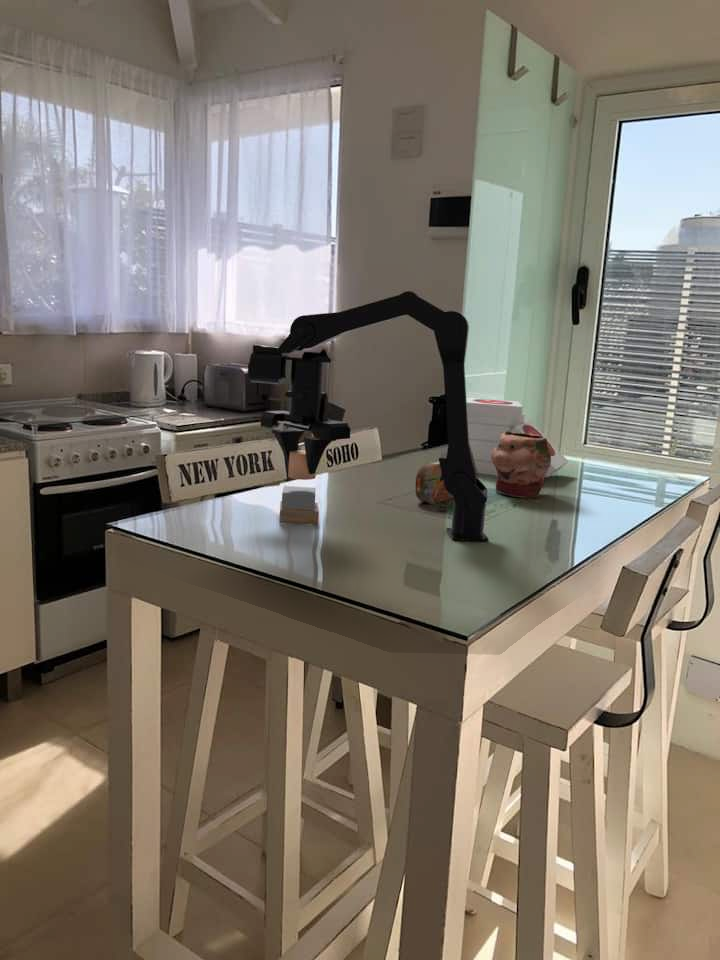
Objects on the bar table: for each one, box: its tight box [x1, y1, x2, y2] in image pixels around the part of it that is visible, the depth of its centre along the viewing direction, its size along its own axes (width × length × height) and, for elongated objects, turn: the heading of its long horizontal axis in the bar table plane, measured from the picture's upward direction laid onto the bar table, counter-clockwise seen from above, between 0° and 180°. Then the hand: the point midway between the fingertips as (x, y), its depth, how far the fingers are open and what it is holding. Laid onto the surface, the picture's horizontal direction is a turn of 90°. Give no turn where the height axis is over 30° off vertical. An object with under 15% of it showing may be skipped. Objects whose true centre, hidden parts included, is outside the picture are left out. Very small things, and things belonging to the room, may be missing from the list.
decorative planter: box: [491, 431, 551, 499], centre depth 183 cm, size 20×12×14 cm, turn 142°
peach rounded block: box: [287, 449, 317, 481], centre depth 146 cm, size 5×5×4 cm
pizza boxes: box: [466, 397, 569, 478], centre depth 209 cm, size 19×30×18 cm, turn 63°
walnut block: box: [279, 500, 320, 526], centre depth 147 cm, size 7×7×3 cm
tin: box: [415, 461, 454, 505], centre depth 170 cm, size 15×3×8 cm, turn 143°
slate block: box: [281, 485, 317, 511], centre depth 147 cm, size 6×6×3 cm
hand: (302, 471), depth 146 cm, fingers closed on peach rounded block, 5 cm apart
